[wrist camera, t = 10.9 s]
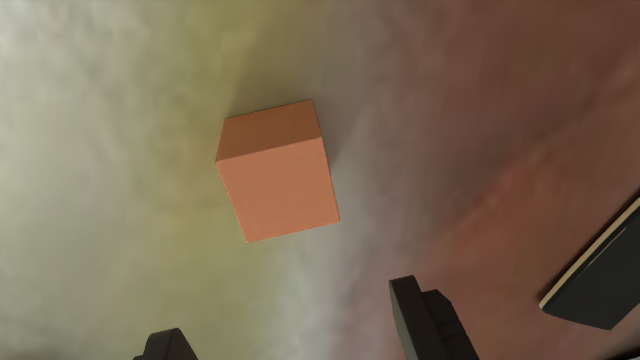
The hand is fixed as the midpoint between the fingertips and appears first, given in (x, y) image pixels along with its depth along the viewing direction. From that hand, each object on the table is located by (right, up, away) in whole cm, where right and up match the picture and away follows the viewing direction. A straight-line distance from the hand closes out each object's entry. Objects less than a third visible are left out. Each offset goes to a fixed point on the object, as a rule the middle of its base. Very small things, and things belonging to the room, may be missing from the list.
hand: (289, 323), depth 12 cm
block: (-1, +6, +10) cm, 12 cm away
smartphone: (+24, 0, +17) cm, 29 cm away
